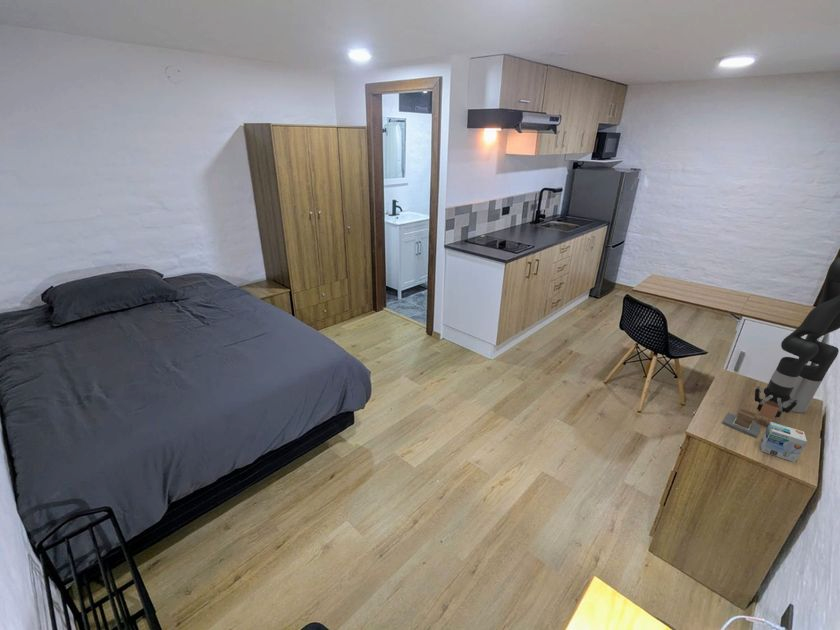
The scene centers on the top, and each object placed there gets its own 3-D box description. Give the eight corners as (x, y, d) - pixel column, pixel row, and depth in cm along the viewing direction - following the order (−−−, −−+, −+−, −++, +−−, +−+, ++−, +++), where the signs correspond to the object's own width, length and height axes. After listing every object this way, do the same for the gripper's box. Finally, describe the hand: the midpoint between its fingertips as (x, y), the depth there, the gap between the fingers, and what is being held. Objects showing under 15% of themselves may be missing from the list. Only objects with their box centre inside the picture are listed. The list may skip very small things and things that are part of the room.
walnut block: (736, 418, 172) (741, 407, 170) (751, 423, 169) (756, 412, 166) (734, 423, 169) (739, 412, 167) (748, 429, 166) (753, 418, 163)
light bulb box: (760, 451, 157) (771, 430, 152) (759, 441, 162) (769, 420, 157) (795, 463, 151) (808, 442, 147) (793, 452, 156) (804, 431, 152)
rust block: (761, 409, 172) (766, 398, 169) (775, 414, 169) (781, 403, 166) (758, 414, 169) (763, 403, 167) (773, 420, 166) (778, 409, 163)
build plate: (727, 414, 177) (728, 412, 176) (760, 428, 169) (761, 425, 168) (722, 423, 171) (723, 421, 170) (756, 438, 163) (757, 435, 163)
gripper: (807, 385, 159) (790, 417, 166) (763, 370, 168) (748, 401, 176) (804, 393, 154) (787, 426, 162) (759, 377, 164) (744, 409, 171)
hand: (767, 413), depth 169 cm, fingers closed on rust block, 5 cm apart
